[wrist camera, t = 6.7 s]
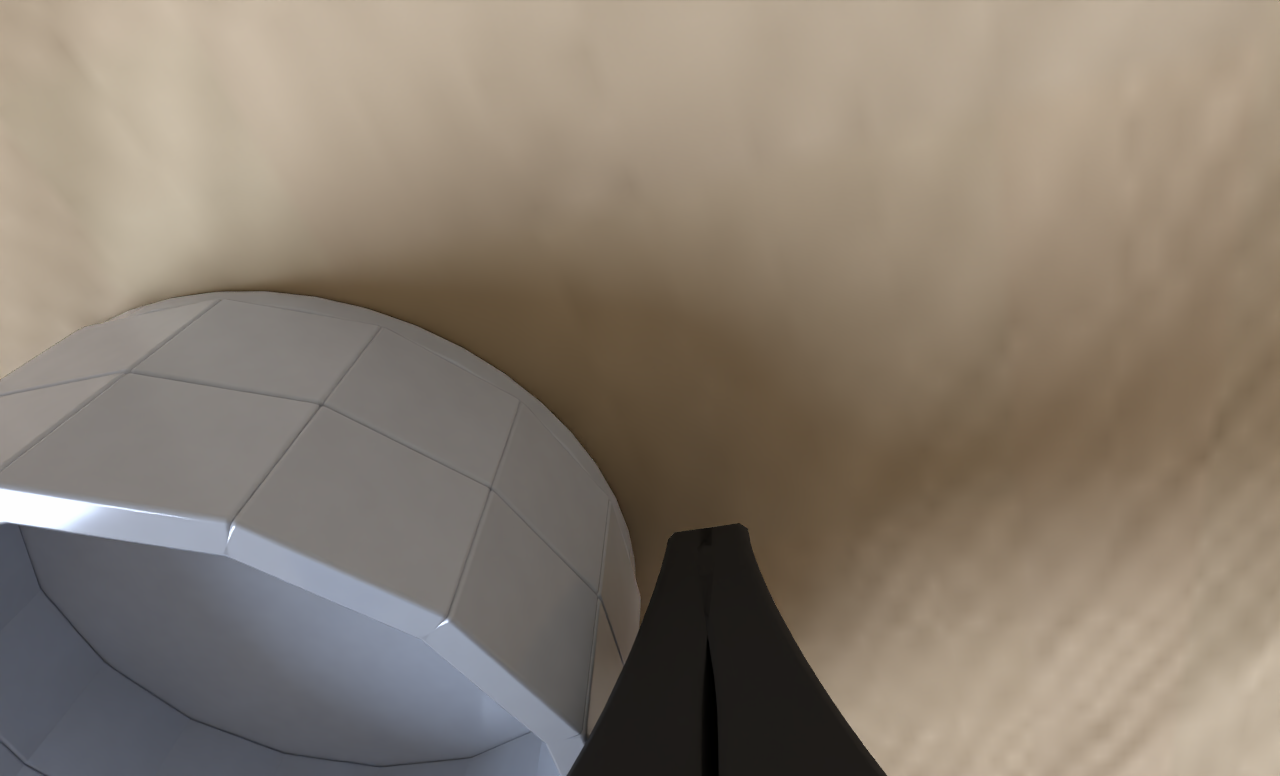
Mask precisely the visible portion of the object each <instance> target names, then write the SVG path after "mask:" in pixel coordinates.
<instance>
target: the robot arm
mask: <svg viewBox="0 0 1280 776" xmlns="http://www.w3.org/2000/svg"><path fill="white" fill-rule="evenodd" d="M567 776H887V775H886V774H885V772H884V771H883V770H882V768H881V767H880V766H879V764H878V763H877V762H876V761H875V759H874V758H873V757H872V755H871V754H870V753H869V751H868V750H867V749H866V748H865V746H864V745H863V743H862V742H861V741H860V739H859V738H858V736H857V735H856V734H855V732H854V731H853V730H852V728H851V727H850V725H849V724H848V723H847V721H846V720H845V718H844V717H843V716H842V714H841V713H840V711H839V710H838V708H837V707H836V705H835V704H834V702H833V701H832V699H831V698H830V696H829V695H828V693H827V692H826V690H825V689H824V687H823V686H822V684H821V683H820V681H819V679H818V678H817V676H816V675H815V673H814V671H813V670H812V668H811V667H810V665H809V664H808V662H807V660H806V659H805V657H804V655H803V654H802V652H801V650H800V648H799V647H798V645H797V643H796V642H795V640H794V638H793V636H792V634H791V633H790V631H789V629H788V627H787V625H786V623H785V621H784V620H783V618H782V616H781V614H780V612H779V610H778V609H777V607H776V605H775V603H774V601H773V599H772V597H771V594H770V592H769V590H768V588H767V586H766V583H765V581H764V579H763V577H762V574H761V572H760V570H759V567H758V564H757V562H756V559H755V556H754V553H753V550H752V547H751V543H750V538H749V533H748V528H746V527H744V526H743V525H741V524H739V523H738V524H731V525H724V526H717V527H710V528H703V529H696V530H689V531H682V532H675V533H674V534H673V535H672V536H671V537H670V538H669V539H668V543H667V548H666V552H665V556H664V559H663V563H662V567H661V570H660V573H659V576H658V579H657V583H656V586H655V588H654V591H653V594H652V597H651V600H650V603H649V606H648V608H647V611H646V613H645V616H644V618H643V621H642V623H641V626H640V628H639V631H638V634H637V636H636V639H635V641H634V644H633V646H632V649H631V651H630V653H629V655H628V658H627V660H626V662H625V664H624V666H623V669H622V671H621V673H620V675H619V677H618V679H617V681H616V683H615V686H614V688H613V690H612V692H611V694H610V696H609V698H608V701H607V703H606V705H605V707H604V709H603V711H602V713H601V715H600V717H599V718H598V720H597V722H596V724H595V726H594V728H593V730H592V732H591V734H590V735H589V737H588V739H587V741H586V743H585V745H584V746H583V748H582V750H581V752H580V753H579V755H578V757H577V759H576V760H575V762H574V764H573V766H572V767H571V769H570V771H569V772H568V774H567Z"/></svg>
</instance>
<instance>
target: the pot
mask: <svg viewBox="0 0 1280 776" xmlns="http://www.w3.org/2000/svg"><path fill="white" fill-rule="evenodd" d="M640 596H641V595H640V592H639V589H638V586H637V582H636V573H635V559H634V554H633V549H632V545H631V540H630V535H629V531H628V528H627V525H626V523H625V520H624V518H623V515H622V513H621V510H620V507H619V505H618V502H617V500H616V497H615V496H614V494H613V492H612V491H611V489H610V487H609V485H608V484H607V482H606V480H605V478H604V477H603V475H602V473H601V471H600V470H599V468H598V466H597V465H596V463H595V462H594V461H593V459H592V458H591V457H590V456H589V454H588V453H587V452H586V450H585V449H584V448H583V447H582V445H581V444H580V443H579V441H578V440H577V439H576V438H575V436H574V435H573V434H572V432H571V431H570V430H569V429H568V428H567V427H566V426H565V425H564V424H563V423H562V422H561V421H560V420H559V419H558V418H556V417H555V416H554V415H553V414H552V413H551V412H550V411H549V410H548V409H547V408H546V407H545V406H544V405H543V404H542V403H541V402H540V401H539V400H538V399H537V398H535V397H534V396H533V395H531V394H530V393H529V392H528V391H526V390H525V389H524V388H522V387H521V386H520V385H519V384H517V383H516V382H515V381H514V380H512V379H511V378H510V377H508V376H507V375H506V374H505V373H503V372H502V371H500V370H498V369H497V368H495V367H493V366H492V365H490V364H489V363H487V362H485V361H484V360H482V359H480V358H479V357H477V356H476V355H474V354H472V353H471V352H469V351H467V350H466V349H464V348H463V347H461V346H458V345H456V344H454V343H452V342H450V341H448V340H446V339H444V338H442V337H439V336H437V335H435V334H433V333H431V332H429V331H427V330H425V329H423V328H420V327H418V326H416V325H413V324H410V323H408V322H405V321H402V320H399V319H396V318H393V317H390V316H387V315H385V314H382V313H379V312H376V311H373V310H370V309H367V308H363V307H358V306H354V305H350V304H345V303H341V302H337V301H332V300H328V299H324V298H319V297H312V296H303V295H295V294H286V293H277V292H268V291H255V292H212V293H204V294H197V295H190V296H183V297H176V298H170V299H166V300H163V301H159V302H156V303H152V304H149V305H145V306H142V307H138V308H135V309H131V310H128V311H126V312H124V313H122V314H120V315H118V316H116V317H114V318H111V319H109V320H107V321H105V322H103V323H99V324H94V325H90V326H85V327H83V328H81V329H79V330H77V331H75V332H74V333H72V334H70V335H69V336H67V337H66V338H64V339H63V340H61V341H59V342H58V343H56V344H55V345H53V346H52V347H50V348H49V349H47V350H45V351H44V352H42V353H41V354H39V355H38V356H36V357H34V358H33V359H31V360H30V361H28V362H27V363H25V364H23V365H22V366H20V367H19V368H17V369H16V370H14V371H13V372H11V373H9V374H8V375H6V376H5V377H3V378H2V379H0V776H567V774H568V772H569V771H570V769H571V767H572V766H573V764H574V762H575V760H576V759H577V757H578V755H579V753H580V752H581V750H582V748H583V746H584V745H585V743H586V741H587V739H588V737H589V735H590V734H591V732H592V730H593V728H594V726H595V724H596V722H597V720H598V718H599V717H600V715H601V713H602V711H603V709H604V707H605V705H606V703H607V701H608V698H609V696H610V694H611V692H612V690H613V688H614V686H615V683H616V681H617V679H618V677H619V675H620V673H621V671H622V669H623V666H624V664H625V662H626V660H627V658H628V655H629V653H630V651H631V649H632V646H633V644H634V641H635V639H636V636H637V634H638V631H639V626H640V606H641V599H640Z"/></svg>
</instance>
